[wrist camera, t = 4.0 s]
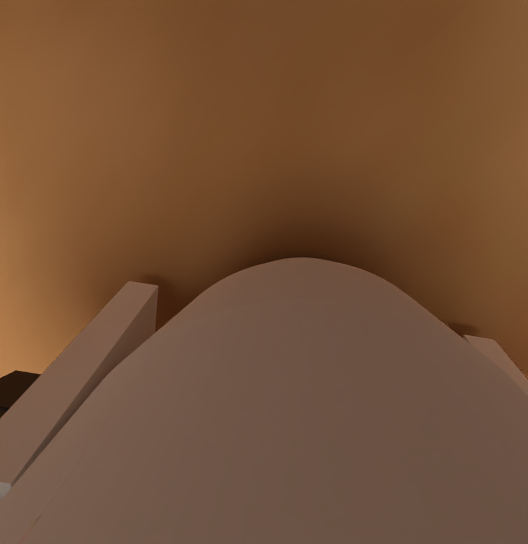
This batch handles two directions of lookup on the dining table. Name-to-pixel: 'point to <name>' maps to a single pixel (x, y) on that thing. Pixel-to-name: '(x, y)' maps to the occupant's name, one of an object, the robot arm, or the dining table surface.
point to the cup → (288, 427)
